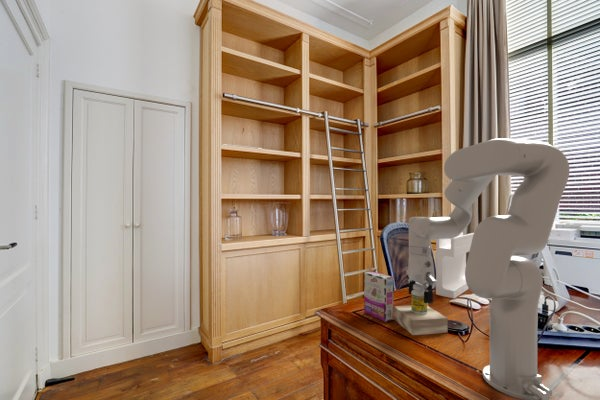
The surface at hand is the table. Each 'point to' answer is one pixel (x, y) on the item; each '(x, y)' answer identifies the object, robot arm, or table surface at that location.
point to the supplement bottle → (418, 299)
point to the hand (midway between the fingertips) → (420, 298)
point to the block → (452, 265)
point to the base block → (420, 321)
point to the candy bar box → (378, 295)
